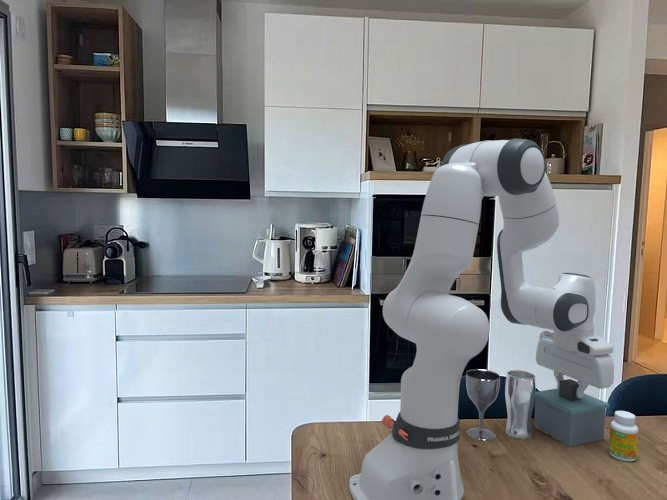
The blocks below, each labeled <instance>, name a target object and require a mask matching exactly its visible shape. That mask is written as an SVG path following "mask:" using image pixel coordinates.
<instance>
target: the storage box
mask: <svg viewBox="0 0 667 500" xmlns="http://www.w3.org/2000/svg"><path fill="white" fill-rule="evenodd" d="M606 409H607V408H606ZM606 409H600V410H595V411H589V412H584V413H579V414H573V415H571V414H569V413H567V412H565V411H563V410H561V409H558V408H556V407H554V406H552V405H550V404H548V403H546V402H544V401H542V400H540V399H538V398H536V397H535V402H534V424H533V425H534V427H533V428H535V427H537V428H538V429H537V428H536V429H537V430H539V429H540V430H542V431H544V432H546V433H547V434H546V433H545V434H546V435H548V434H549V435H551V436H553V437H554V438H553V437H552V438H553V439H555V438H556V439H555V440H557V439H558V440H559V442H560V441H561V443H562V442H563V443H562V444H564V445H566V446H567V445H568V446H567V447H569V448H571V447H576V446H580V444H581V445H585V444H589V443H588V442H590V443H593V442H599V441H602V440H605V426H606V425H605V424H606ZM540 430H539V431H540ZM542 431H541V432H542ZM544 432H543V433H544ZM549 435H548V436H549ZM551 436H550V437H551ZM558 440H557V441H558Z"/></svg>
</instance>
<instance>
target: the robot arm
mask: <svg viewBox="0 0 667 500" xmlns="http://www.w3.org/2000/svg"><path fill="white" fill-rule="evenodd" d="M546 163H547V162H546V156H545V154H544V152H543V150H542V149H541V148H540V147H539V145H538V144H537V143H536V142H535V141H533V140H531V139H526V138H512V139H500V140H496V139H495V140H491V139H490V140H487V139H486V140H483V141H477V142H473V143H469V144H460V145H457V146H454V147H453V148H452V149H449V150H448V151H447V153H445V155H444V157H443V159H442V161H441V163H440V167H438V168H437V169H436V170H435V171H434V173H433V175H432V177H431V179H430V182H429V185H428V188H427V189H426V192H425V193H426V194H425V197H424V201H423V205H422V209H421V213H420V218H419V223H418V229H417V234H416V240H415V244H414V249H413V251H412V252H413V254H412V256H411V259H410V262H409V263H408V266H407V269H406V271H405V273H404V275H403V277H402V278H401V280H400V282H399V283H398V285H397V286H396V287H395V288H394V289H393V290H392V291H390V292H389V294H387V296H386V298H385V299H384V301H383V304H382V317H383V320H384V322H385V324H386V325H387V326H388V327H389V328H390V329H391V330H392V331H393V332H394V333H395V334H396V335H398V336H399V337H401V338H402V339H405V340H408V342H409V341H410V342H412V343H414V344H415V345H416V354H415V358H414V360H413V364H412V366H410V367H408V368H407V369H406V370H404V372H403V374H402V375H401V379H400V406H399V408H400V409H399V410H400V411H399V412H398V415H397V417H396V419H394V418H392V417H391V415H388V414H386V415H384V416H383V418H382V419H381V424H383V425H384V426H385V427H386V428H387V429H391V433H390V434H388V435H387V436H386V437H385V438H384V439H382V440H381V441H380V442H379V443H378V444H377V445H375V446H374V447H373V448H372V449H371V450H369V451H368V452H367V453H366V454H365V456H364V457H363V460H362V463H361V464H362V465H361V469H360V473H356V474H354V475H352V476H350V478H349V481H348V482H349V483H348V488H349V489H348V490H349V493H350V495H351V496H352V497H351V498H353V500H462V498H463V497H464V494H465V488H464V484H463V480H462V475H461V471H460V463H459V451H458V446H459V445H458V442H459V441H460V435H461V434H460V433H461V432H460V431H461V430H460V429H461V427H460V424H461V423H460V418H459V417H458V415H459V399H460V398H459V397H460V385H461V379H462V377H463V373H464V370H465V369H466V366H467V364H468V363H469V361H470V360H472V359H473V358H474V357H476V356H477V355H479V354H480V353H481V352H482V351H483V349H484V348H485V347H486V345H487V342H488V340H489V337H490V329H491V328H490V323H489V321H490V320H489V319H488V316H487V314H486V313H485V312H484V310H482V309H481V308H480V307H478V306H477V305H475V304H474V303H472V302H470V301H468V300H466V299H465V298H462V297H461V296H456V295H453V294H450V290H451V288H452V286H453V284H454V282H455V281H456V279H457V278H458V277H459V275H460V274H462V273H463V272H465V271H466V270H468V269H469V268H470V266H471V265H472V262H473V257H474V254H475V253H474V252H475V248H476V242H477V237H478V231H479V224H480V219H481V211H482V202H483V201H482V200H483V198H484V197H498V202H499V206H500V210H501V214H502V219H503V228H502V229H501V230H500V231H499V232H498V235H497V238H496V239H497V240H496V251H497V252H496V253H497V261H498V263H497V264H498V271H499V279H500V280H499V281H500V290H501V291H500V293H501V294H500V309H501V313H502V314H503V315H504V317H505V319H506V320H507V321H508V322H510V323H511V324H517V325H524V326H532V327H536V328H540V329H547V330H543V331H542V332H541V333H540V334H539V336H538V342H537V347H536V352H535V361H536V364H537V365H538V366H540V367H544V368H546V369H548V370H551V371H552V372H553V375H554V378H555V380H556V383H557V386H556V389H559V384H560V380H565V379H564V376H566V377H568V378H570V379H573V380H575V381H576V380H577V382H578V385H579V387H578V389H574V394H573V395H574V396H575V397H577V398H583V397H584V393H585V391H586V389H587V388H588V387H589V386H591V387H594V388H597V389H600V390H601V389H602V390H603V389H609V388H610V387H611V386H612V385H613V384H614V381H615V380H614V379H615V378H614V377H615V375H614V374H615V373H614V372H615V367H614V360H613V358H612V356H611V354H613V352H614V345H612V344H611V342H608V341H607V340H605V339H604V338H603V337H601V336H599V335H598V334H597V333H596V332H595V325H594V317H595V316H594V315H595V313H596V302H597V301H596V286H595V281H594V279H593V278H592V277H591V276H589V275H586V274H580V273H576V272H575V273H574V272H562V273H560V274H559V275H558V277H557V283H556V284H555V285H553V286H552V287H551V288H550V287H549V288H548V287H541V286H537V285H536V286H535V285H534V286H533V285H531V284H530V283H528V282H527V281H526V280H525V274H524V264H523V263H524V262H523V252H527V251H530V250H533V249H536V248H538V247H539V246H542V245H543V244H545V243H547V242H549V240H550V239H552V238H553V237H554V235H555V234H556V232H557V230H558V228H559V225H560V214H559V210H558V205H557V202H556V196H555V193H554V190H553V187H552V184H551V181H550V180H549V179H550V178H549V177H548V175H547V173H546V169H547V168H546V167H547V166H546V165H547V164H546ZM549 330H550V331H549ZM551 331H553V332H551Z"/></svg>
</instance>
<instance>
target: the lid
mask: <svg viewBox="0 0 667 500" xmlns="http://www.w3.org/2000/svg"><path fill="white" fill-rule="evenodd" d="M578 387H579V385H578V380H577V381H576V380H575V379H573V378H568V379H564V380H560V384H559V389H557V388H551V389H545V390H538V391H536V394H535V399H536V398H538V399H540V400H542V401H544V402H546V403H548V404H550V405H552V406H554V407H556V408H558V409H561V410H563V411H565V412H567V413H569V414H571V415H573V414H579V413H584V412H589V411H595V410H600V409H610V403H608V402H605V401H603V400H601V399H598V398H596V397H594V396H591V395H589V394H587V393H585V392H584V397H583V398H577V397H575V396H574V395H573V394H574V389H578Z"/></svg>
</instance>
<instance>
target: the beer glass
mask: <svg viewBox="0 0 667 500" xmlns="http://www.w3.org/2000/svg"><path fill="white" fill-rule="evenodd" d="M536 386H537V384H536V375H535V374H533V373H532V372H529V371H526V370H519V369H513V370H512V369H511V370H508V371H507V372H506V378H505V387H504V389H505V390H504V395H505V396H504V397H505V403H506V404H505V405H506V412H507V420H506V425H505V431H506V432H505V433H506V434H507V436H509V435H510V436H509V437H511V436H512V437H511V438H514V437H515V438H514V439H518V438H521V439H520V440H528V439H530V438H532V436H533V435H532V434H533V433H532V432H533V431H532V426H531V420H532V414H533V411H534V408H535V399H536V397H535V394H536V392H537V389H536ZM527 438H528V439H527Z"/></svg>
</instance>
